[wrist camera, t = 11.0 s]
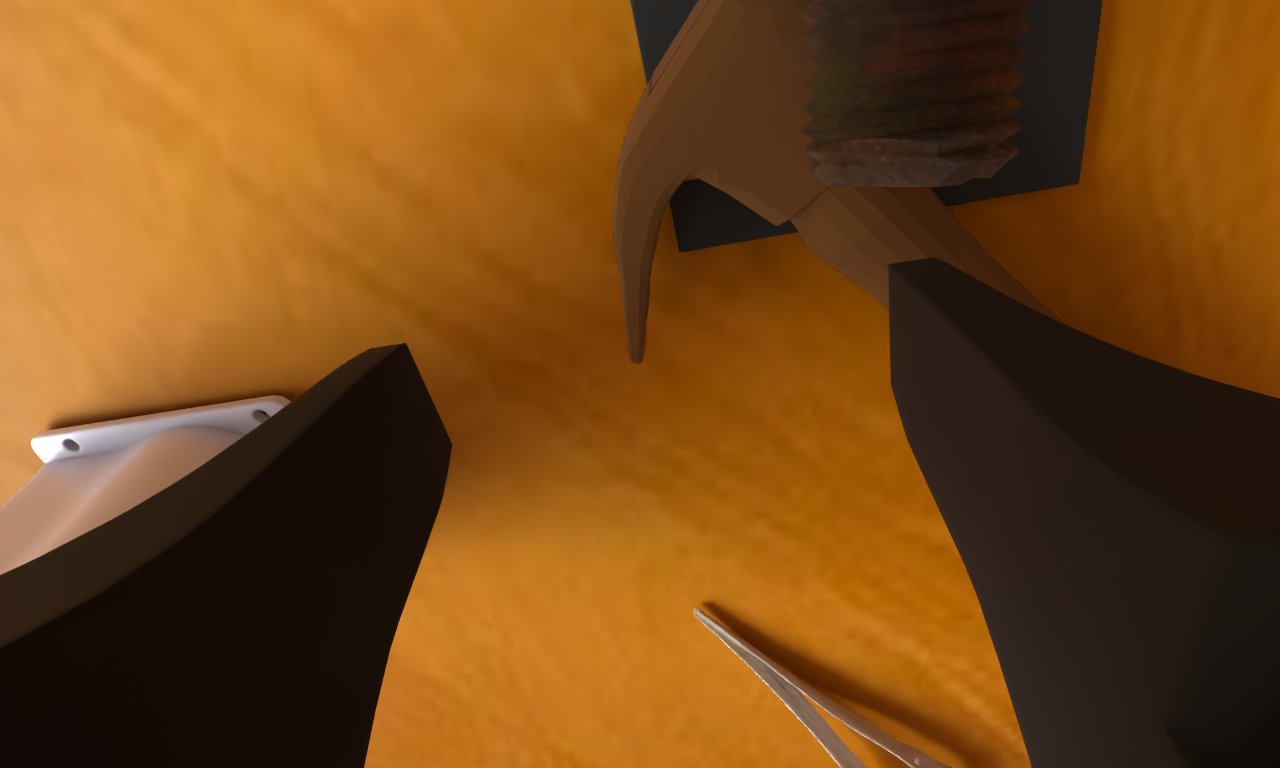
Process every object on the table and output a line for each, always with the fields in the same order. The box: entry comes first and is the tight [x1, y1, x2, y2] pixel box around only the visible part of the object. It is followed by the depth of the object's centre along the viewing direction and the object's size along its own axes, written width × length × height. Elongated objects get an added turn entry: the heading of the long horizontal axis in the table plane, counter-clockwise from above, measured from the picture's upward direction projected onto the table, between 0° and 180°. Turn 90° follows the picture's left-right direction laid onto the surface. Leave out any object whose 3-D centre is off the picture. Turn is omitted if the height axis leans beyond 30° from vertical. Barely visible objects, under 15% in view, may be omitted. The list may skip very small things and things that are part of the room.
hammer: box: [613, 0, 1064, 364], centre depth 21 cm, size 12×3×30 cm
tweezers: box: [694, 608, 951, 768], centre depth 32 cm, size 17×5×2 cm, turn 43°
